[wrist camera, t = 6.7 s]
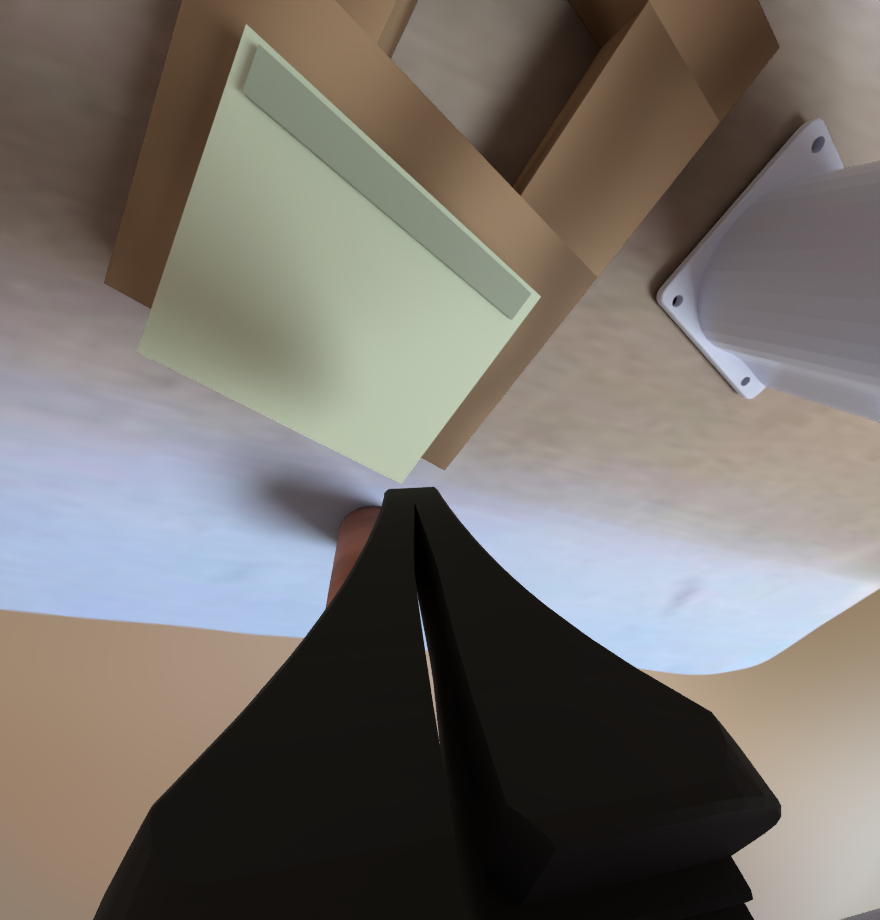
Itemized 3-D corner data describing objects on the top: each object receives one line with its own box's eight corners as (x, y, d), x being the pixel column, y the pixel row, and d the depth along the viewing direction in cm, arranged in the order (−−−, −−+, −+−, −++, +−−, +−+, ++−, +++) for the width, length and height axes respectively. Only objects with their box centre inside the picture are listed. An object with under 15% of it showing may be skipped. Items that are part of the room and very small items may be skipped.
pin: (417, 522, 21) (430, 624, 15) (383, 564, 23) (383, 672, 17) (359, 496, 20) (348, 598, 14) (327, 542, 21) (304, 653, 15)
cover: (525, 293, 13) (545, 297, 11) (399, 466, 16) (401, 489, 14) (265, 57, 9) (239, 12, 8) (162, 342, 12) (128, 354, 11)
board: (713, 83, 13) (779, 47, 11) (437, 446, 19) (444, 470, 17) (395, -483, 7) (399, -793, 5) (149, 280, 13) (104, 283, 11)
